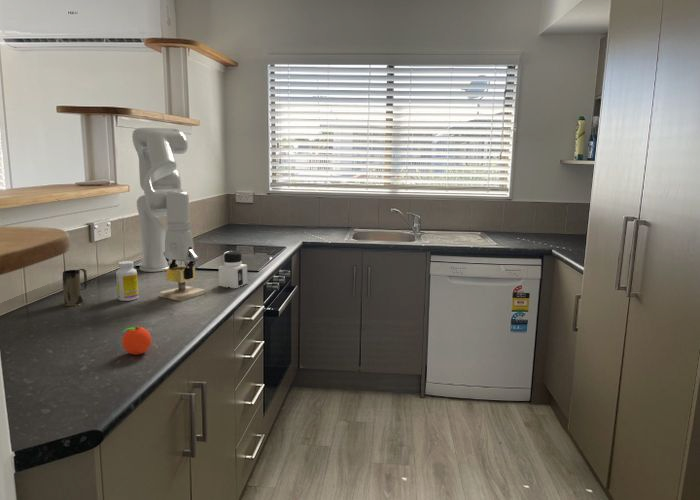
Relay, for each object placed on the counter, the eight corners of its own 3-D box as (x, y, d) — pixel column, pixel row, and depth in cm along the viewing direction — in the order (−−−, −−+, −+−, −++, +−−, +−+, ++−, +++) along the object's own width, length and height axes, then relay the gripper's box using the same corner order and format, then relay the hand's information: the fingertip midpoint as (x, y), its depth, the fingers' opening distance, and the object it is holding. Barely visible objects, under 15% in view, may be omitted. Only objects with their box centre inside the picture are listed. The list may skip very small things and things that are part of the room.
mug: (60, 305, 175) (57, 270, 173) (71, 301, 180) (68, 266, 178) (82, 307, 174) (79, 271, 172) (93, 302, 179) (90, 267, 177)
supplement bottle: (143, 297, 186) (140, 261, 183) (129, 302, 180) (126, 265, 177) (127, 295, 188) (124, 259, 185) (113, 300, 182) (110, 263, 179)
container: (248, 284, 204) (247, 250, 202) (235, 288, 198) (234, 254, 195) (231, 281, 208) (230, 248, 205) (218, 286, 201) (217, 252, 198)
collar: (167, 280, 186) (166, 269, 186) (182, 276, 192) (181, 265, 191) (180, 282, 183) (180, 271, 182) (195, 278, 189) (195, 267, 188)
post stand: (159, 296, 187) (158, 279, 186) (183, 289, 196) (182, 273, 195) (181, 301, 182) (180, 284, 180) (205, 293, 191) (204, 277, 190)
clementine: (114, 359, 133) (112, 331, 131) (124, 348, 140) (122, 322, 138) (147, 358, 133) (145, 331, 132) (155, 348, 140) (154, 322, 139)
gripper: (152, 226, 185) (155, 276, 189) (188, 230, 177) (191, 282, 180) (169, 223, 192) (172, 272, 195) (205, 227, 183) (207, 278, 186)
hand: (181, 276), depth 188 cm, fingers closed on collar, 6 cm apart
